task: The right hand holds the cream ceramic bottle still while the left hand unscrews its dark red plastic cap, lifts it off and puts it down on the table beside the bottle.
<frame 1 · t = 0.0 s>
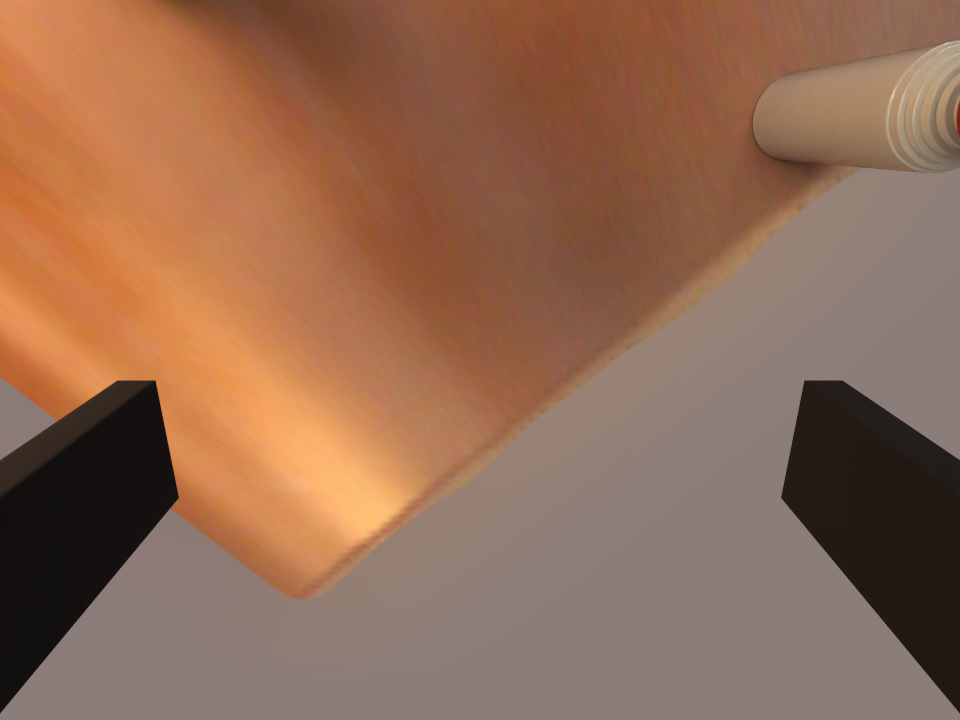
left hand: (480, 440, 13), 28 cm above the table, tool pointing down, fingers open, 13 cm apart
bottle: (793, 117, 36), on the table
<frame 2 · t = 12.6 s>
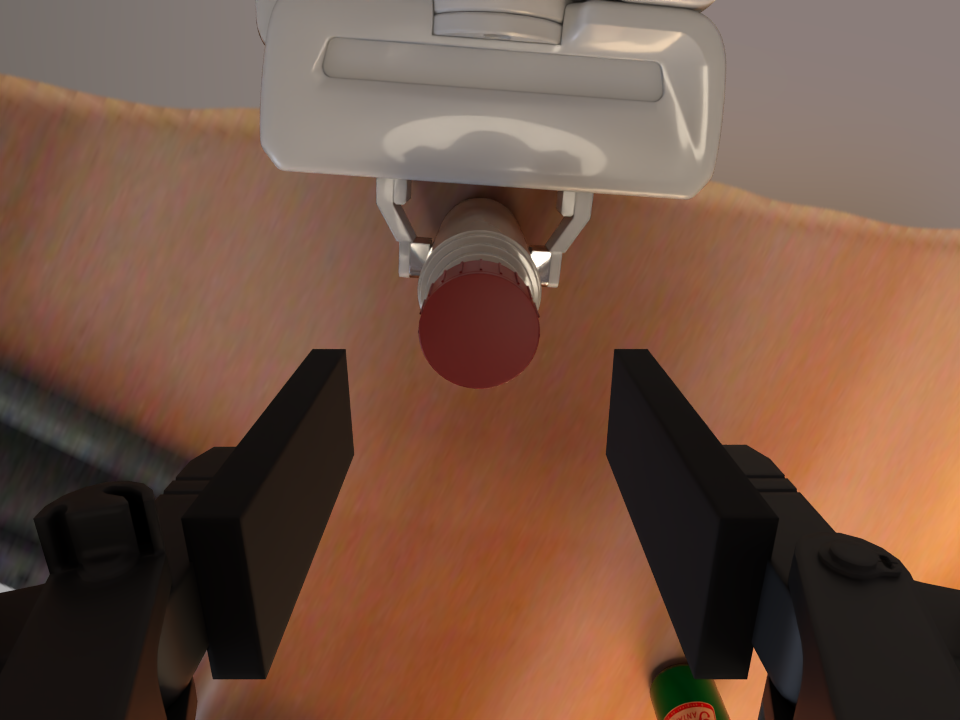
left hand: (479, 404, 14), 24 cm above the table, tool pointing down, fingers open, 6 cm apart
cap: (479, 330, 20), point 18 cm above the table, screwed on, not yet turned
bottle: (480, 240, 36), on the table, touching right hand
soda can: (679, 681, 48), on the table
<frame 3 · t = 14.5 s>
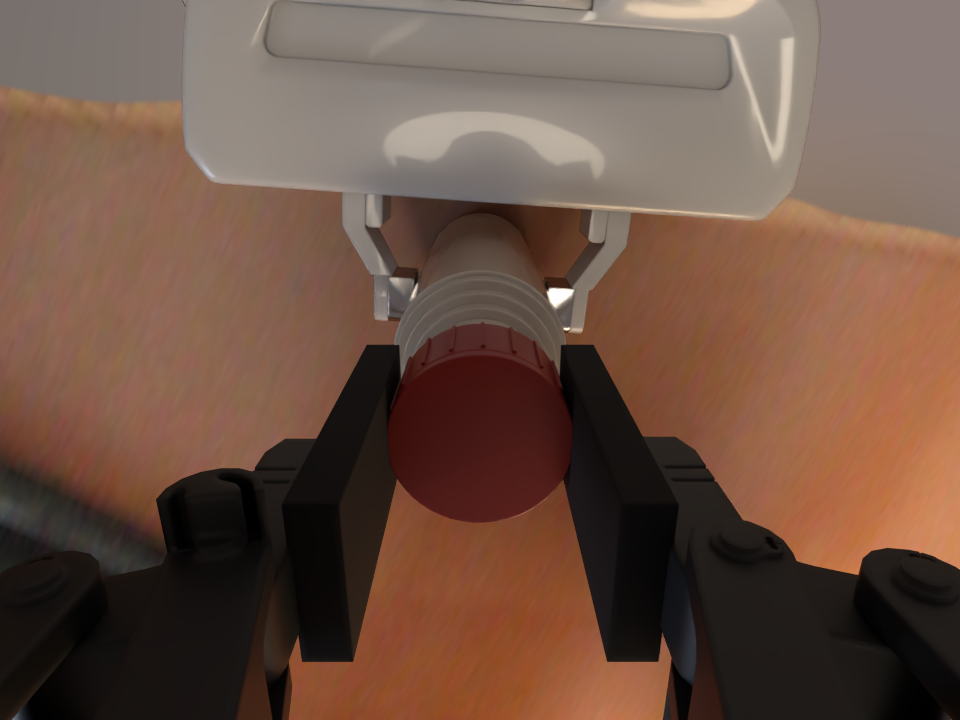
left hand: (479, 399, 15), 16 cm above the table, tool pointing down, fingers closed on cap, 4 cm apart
cap: (480, 436, 13), point 18 cm above the table, screwed on, not yet turned, touching left hand
bottle: (480, 265, 29), on the table, touching right hand
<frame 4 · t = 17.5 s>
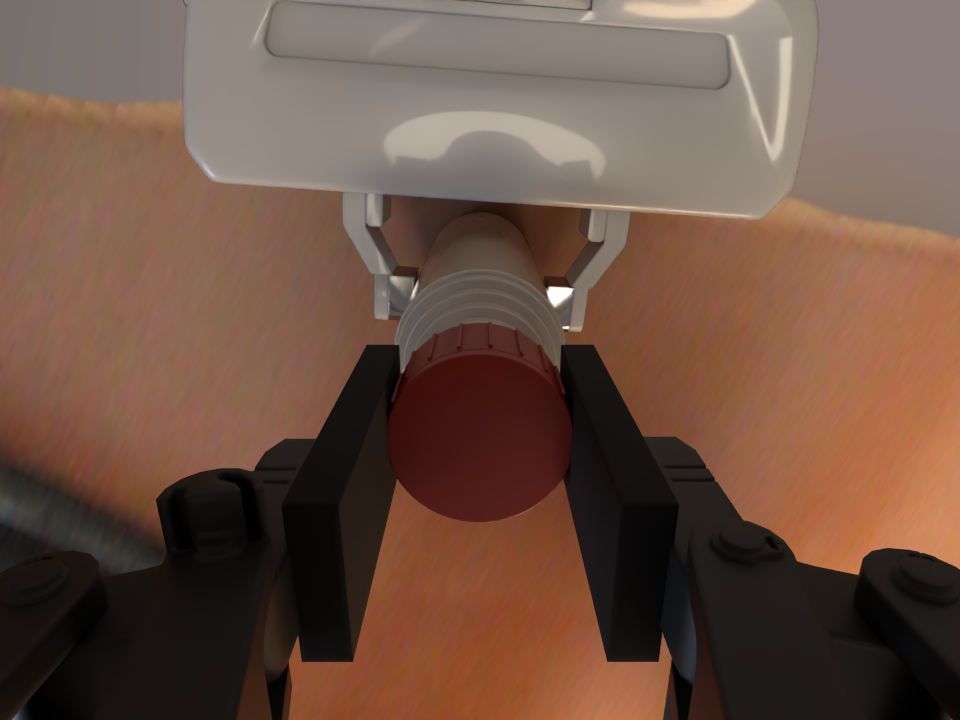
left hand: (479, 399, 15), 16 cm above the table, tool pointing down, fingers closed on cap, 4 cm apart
cap: (480, 436, 13), point 18 cm above the table, turned 90° so far, risen 0.1 cm, still on its thread, touching left hand
bottle: (480, 264, 29), on the table, touching right hand
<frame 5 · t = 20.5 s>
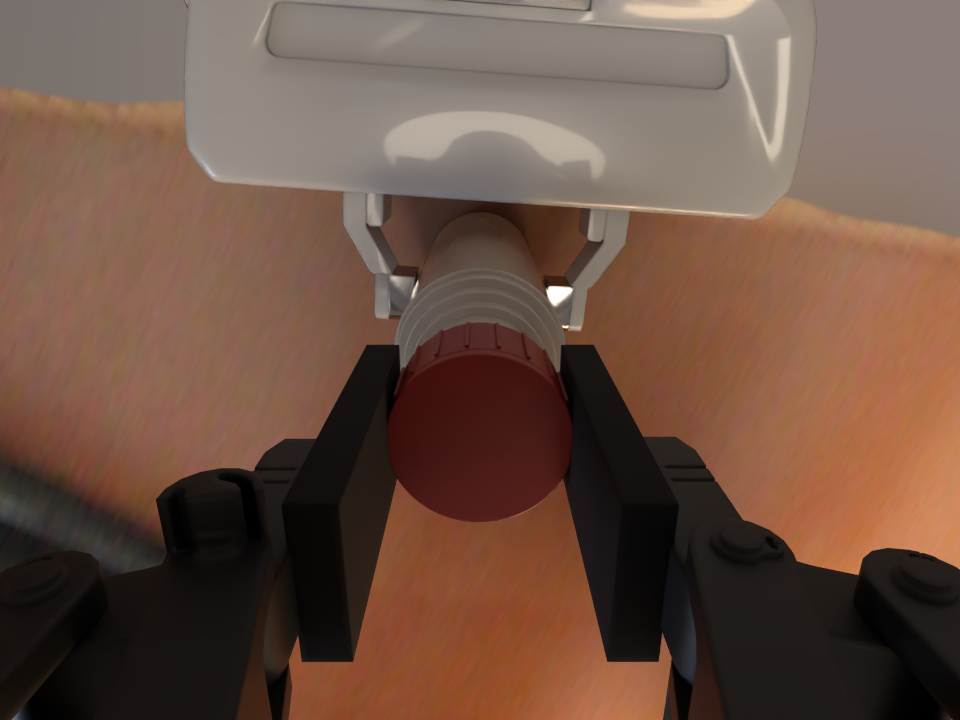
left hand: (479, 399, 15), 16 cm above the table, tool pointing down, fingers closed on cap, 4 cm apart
cap: (479, 436, 13), point 18 cm above the table, turned 180° so far, risen 0.2 cm, still on its thread, touching left hand
bottle: (480, 263, 30), on the table, touching right hand
when the left hand's fingers open (1 cm above the table, at t = 35.8 s): cap drops 2 cm, point 2 cm above the table.
when the right hand's fingers open (7 cm above the table, at t = 37.1 s): bottle stays where it is, on the table.
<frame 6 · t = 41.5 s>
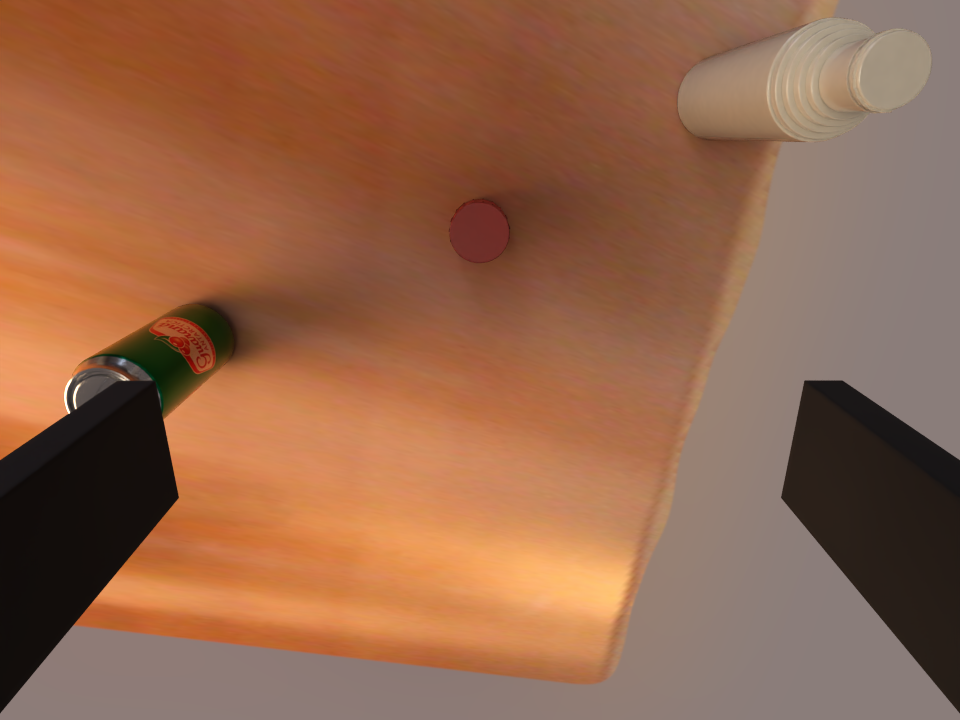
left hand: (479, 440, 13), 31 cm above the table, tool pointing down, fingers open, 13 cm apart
cap: (479, 232, 40), point 2 cm above the table, off its thread
bottle: (716, 98, 38), on the table
soda can: (202, 334, 44), on the table
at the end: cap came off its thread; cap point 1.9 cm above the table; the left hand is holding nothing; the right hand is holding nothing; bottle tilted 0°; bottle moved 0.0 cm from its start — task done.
